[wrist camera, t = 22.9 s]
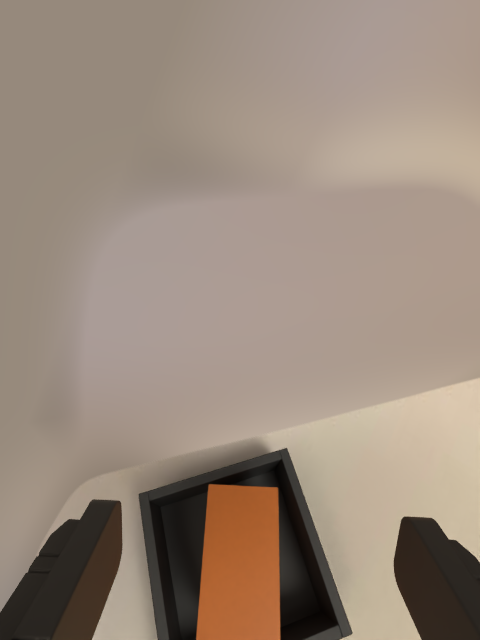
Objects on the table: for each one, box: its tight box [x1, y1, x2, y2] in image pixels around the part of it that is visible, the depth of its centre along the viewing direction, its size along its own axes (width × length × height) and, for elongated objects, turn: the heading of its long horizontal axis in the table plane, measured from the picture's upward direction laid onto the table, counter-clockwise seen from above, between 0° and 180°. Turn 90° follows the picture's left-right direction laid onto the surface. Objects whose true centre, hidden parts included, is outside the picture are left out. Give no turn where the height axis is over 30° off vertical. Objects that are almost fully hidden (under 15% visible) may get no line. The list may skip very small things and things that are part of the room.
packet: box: [196, 484, 281, 640], centre depth 28 cm, size 5×9×12 cm, turn 178°
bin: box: [139, 448, 352, 640], centre depth 31 cm, size 14×14×7 cm
